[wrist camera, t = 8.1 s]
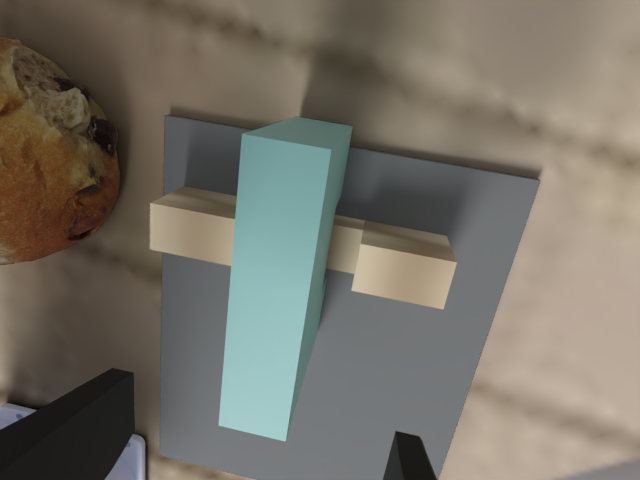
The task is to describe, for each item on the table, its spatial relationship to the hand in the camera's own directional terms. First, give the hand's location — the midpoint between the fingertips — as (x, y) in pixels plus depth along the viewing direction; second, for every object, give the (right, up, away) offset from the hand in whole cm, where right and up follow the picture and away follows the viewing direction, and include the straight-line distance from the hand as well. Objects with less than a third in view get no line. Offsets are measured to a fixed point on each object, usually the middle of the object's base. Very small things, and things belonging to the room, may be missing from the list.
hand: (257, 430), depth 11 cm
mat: (+1, 0, +10) cm, 10 cm away
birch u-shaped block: (+1, +5, +8) cm, 10 cm away
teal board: (+1, +5, +8) cm, 10 cm away
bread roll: (-12, +10, +10) cm, 18 cm away
